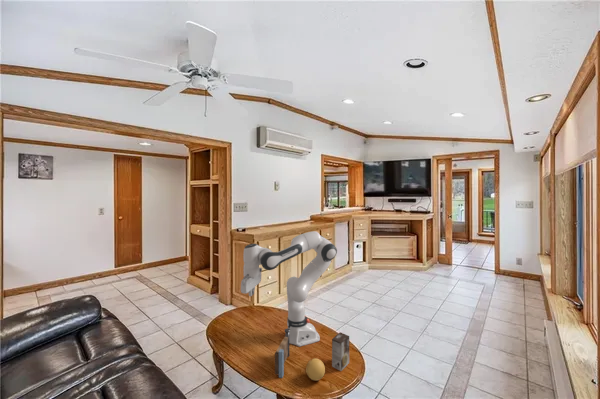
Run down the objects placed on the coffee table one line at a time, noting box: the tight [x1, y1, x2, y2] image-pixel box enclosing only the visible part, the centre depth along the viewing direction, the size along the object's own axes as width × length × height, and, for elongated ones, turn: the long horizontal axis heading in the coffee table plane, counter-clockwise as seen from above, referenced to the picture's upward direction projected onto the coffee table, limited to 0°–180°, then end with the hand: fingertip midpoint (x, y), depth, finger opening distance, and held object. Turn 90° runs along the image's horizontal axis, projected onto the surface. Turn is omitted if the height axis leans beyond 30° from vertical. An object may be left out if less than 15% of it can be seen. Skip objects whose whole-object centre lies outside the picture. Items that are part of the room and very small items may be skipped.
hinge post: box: [284, 327, 290, 358], centre depth 163 cm, size 3×3×16 cm
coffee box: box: [331, 332, 350, 372], centre depth 154 cm, size 9×6×16 cm
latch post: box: [278, 349, 285, 379], centre depth 145 cm, size 2×2×14 cm
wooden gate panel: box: [274, 336, 289, 376], centre depth 153 cm, size 17×2×11 cm, turn 164°
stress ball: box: [305, 357, 326, 381], centre depth 143 cm, size 10×10×10 cm
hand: (251, 295), depth 160 cm, fingers closed
